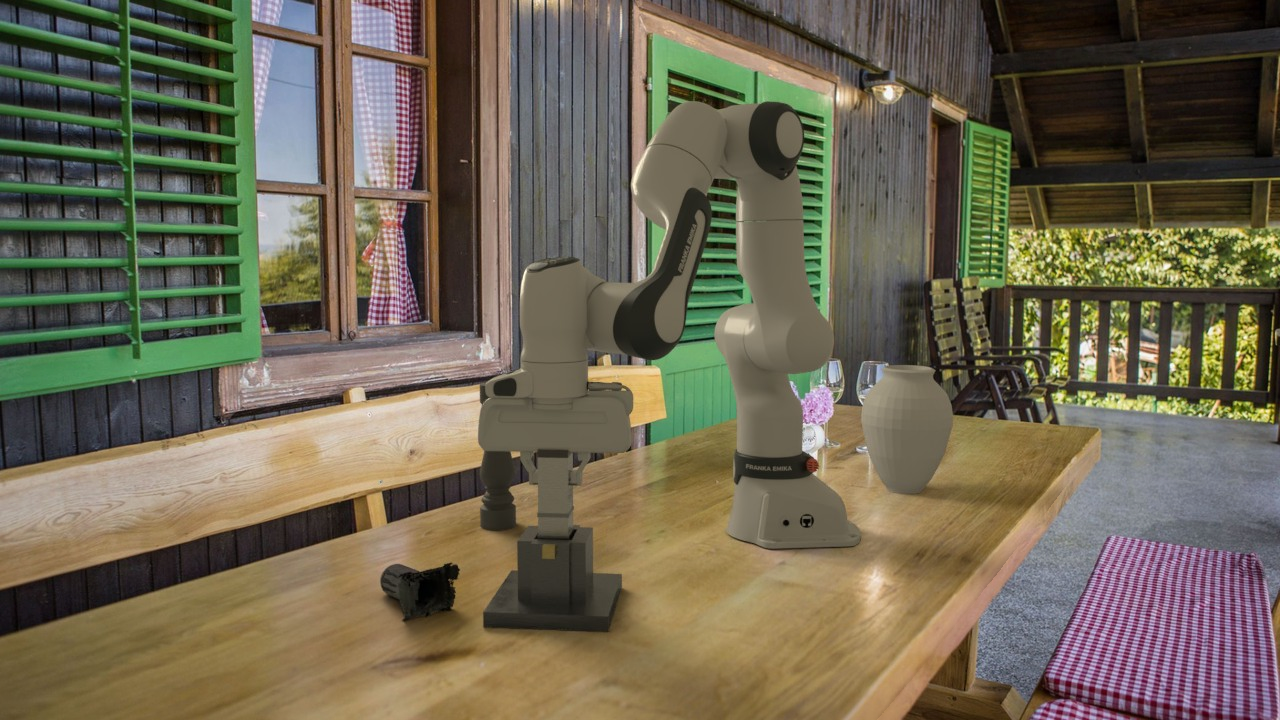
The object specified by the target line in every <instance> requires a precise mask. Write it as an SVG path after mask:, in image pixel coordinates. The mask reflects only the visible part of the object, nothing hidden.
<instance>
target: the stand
mask: <svg viewBox="0 0 1280 720" xmlns="http://www.w3.org/2000/svg"><path fill="white" fill-rule="evenodd" d="M573 527H574V532H573V538H572V540H547V539H537V535H538V525H527V527H526V528H525V530H524V531H523V533H522V534H521V535H520V536H519V538H518V539H517V541H516V543H517V544H516V548H517V550H516V554H517V557H516V558H517V561H516V562H517V570H513V569H512V570H510V572H509V573H508V575H507V576H506V578H505V579H504V581H503V582H502V583H501V585H500V586H499V588H498V589H497V591H496V592H495V594H494V595H493V596H492V598H491V600H490V601H489V602H488V604H487V606H486V607H485V608H484V610H483V612H482V615H483V616H482V620H483V621H482V622H483V623H482V625H483V626H482V627H483V628H492V629H493V628H497V629H498V628H499V629H518V630H519V629H524V630H525V629H526V630H546V631H547V630H550V631H573V632H574V631H576V632H577V631H578V632H581V631H582V632H598V633H599V632H601V633H602V632H603V633H604V632H605V633H608V632H609V631H610V627H611V623H612V621H613V618H614V614H615V611H616V607H617V605H618V601H619V598H620V594H621V592H622V588H623V574H622V573H609V572H608V573H605V572H604V573H603V572H602V573H601V572H599V573H598V572H594V527H587V526H586V527H585V526H584V527H583V526H581V524H573Z"/></svg>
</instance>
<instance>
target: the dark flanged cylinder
mask: <svg viewBox="0 0 1280 720" xmlns="http://www.w3.org/2000/svg"><path fill="white" fill-rule="evenodd" d="M460 571H461V569H460V568H459V565H458V563H453V562H452V561H451V562H447V563H444V564H443V566H439V567H438V566H437V567H436V568H429V569H425V570H422V571H419V570H417V569H414V568H411V567H409V566H406V565H404V564H401V563H393V564H391V565H389V566H387V567H386V568H385V569H384V570H383V571H382V573H381V574H380V580H379V583H380V587H381V590H382V591H383V592H384V593H385V594H386V595H388V596H389V597H393V599H394V598H395V599H396V600H398V601H399V606H400V608H399V609H400V610H402V611H401V614H403V616H404V618H402V619H401V621H405V620H406V621H407V620H409V619H414V618H420V617H423V616H424V617H425V618H427V617H430V616H431V617H433V615H432V614H434V613H436V612H438V613H444V612H446V611H448V612H450V611H452V608H453V606H454V604H455V599H456V594H457V592H456V590H455V589H456V586H454V583H455V582H454V581H457V580H459V576H460Z"/></svg>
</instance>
